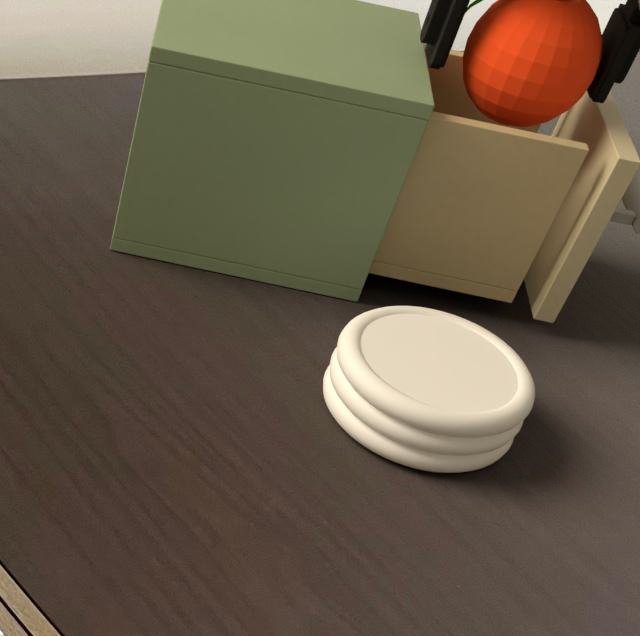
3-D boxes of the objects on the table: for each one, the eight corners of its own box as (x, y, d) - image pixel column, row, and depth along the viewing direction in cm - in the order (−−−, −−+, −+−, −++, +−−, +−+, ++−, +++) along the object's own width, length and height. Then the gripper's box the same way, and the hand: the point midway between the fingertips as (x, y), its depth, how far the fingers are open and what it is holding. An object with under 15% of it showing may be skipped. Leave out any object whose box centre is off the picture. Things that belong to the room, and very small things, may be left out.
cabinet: (351, 197, 76) (418, 12, 67) (357, 302, 67) (435, 105, 58) (132, 151, 76) (171, -40, 67) (109, 250, 67) (151, 45, 59)
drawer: (583, 237, 74) (664, 85, 67) (615, 336, 67) (710, 177, 59) (321, 182, 74) (374, 24, 67) (323, 274, 67) (383, 108, 60)
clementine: (430, 133, 62) (485, -7, 57) (416, 79, 67) (466, -55, 62) (576, 160, 62) (644, 23, 57) (552, 104, 67) (613, -27, 62)
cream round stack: (450, 351, 65) (476, 297, 62) (545, 471, 59) (578, 416, 56) (289, 359, 62) (309, 303, 59) (370, 485, 56) (397, 429, 53)
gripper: (499, -356, 48) (356, 71, 60) (917, -271, 47) (686, 139, 60) (480, -382, 53) (352, 17, 65) (858, -305, 52) (656, 79, 65)
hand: (513, 74), depth 63 cm, fingers closed on clementine, 8 cm apart
